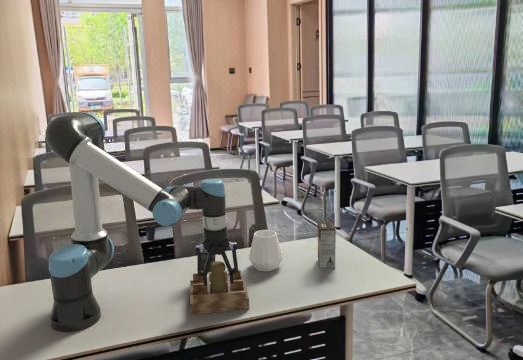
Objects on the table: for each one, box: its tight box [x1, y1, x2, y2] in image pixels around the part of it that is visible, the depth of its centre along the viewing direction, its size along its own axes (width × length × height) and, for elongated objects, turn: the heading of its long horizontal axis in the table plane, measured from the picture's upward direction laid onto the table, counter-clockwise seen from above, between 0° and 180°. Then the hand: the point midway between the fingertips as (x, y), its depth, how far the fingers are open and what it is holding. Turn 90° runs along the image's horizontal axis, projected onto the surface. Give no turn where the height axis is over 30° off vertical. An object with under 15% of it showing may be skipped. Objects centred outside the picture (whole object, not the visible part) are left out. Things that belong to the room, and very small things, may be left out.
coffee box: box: [317, 221, 337, 269], centre depth 192 cm, size 9×6×16 cm
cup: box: [248, 229, 284, 272], centre depth 191 cm, size 13×13×14 cm
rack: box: [189, 269, 250, 315], centre depth 167 cm, size 19×18×6 cm
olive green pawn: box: [210, 260, 228, 294], centre depth 161 cm, size 6×6×11 cm
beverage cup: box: [198, 227, 216, 272], centre depth 181 cm, size 7×7×20 cm
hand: (219, 292), depth 162 cm, fingers closed on olive green pawn, 6 cm apart
